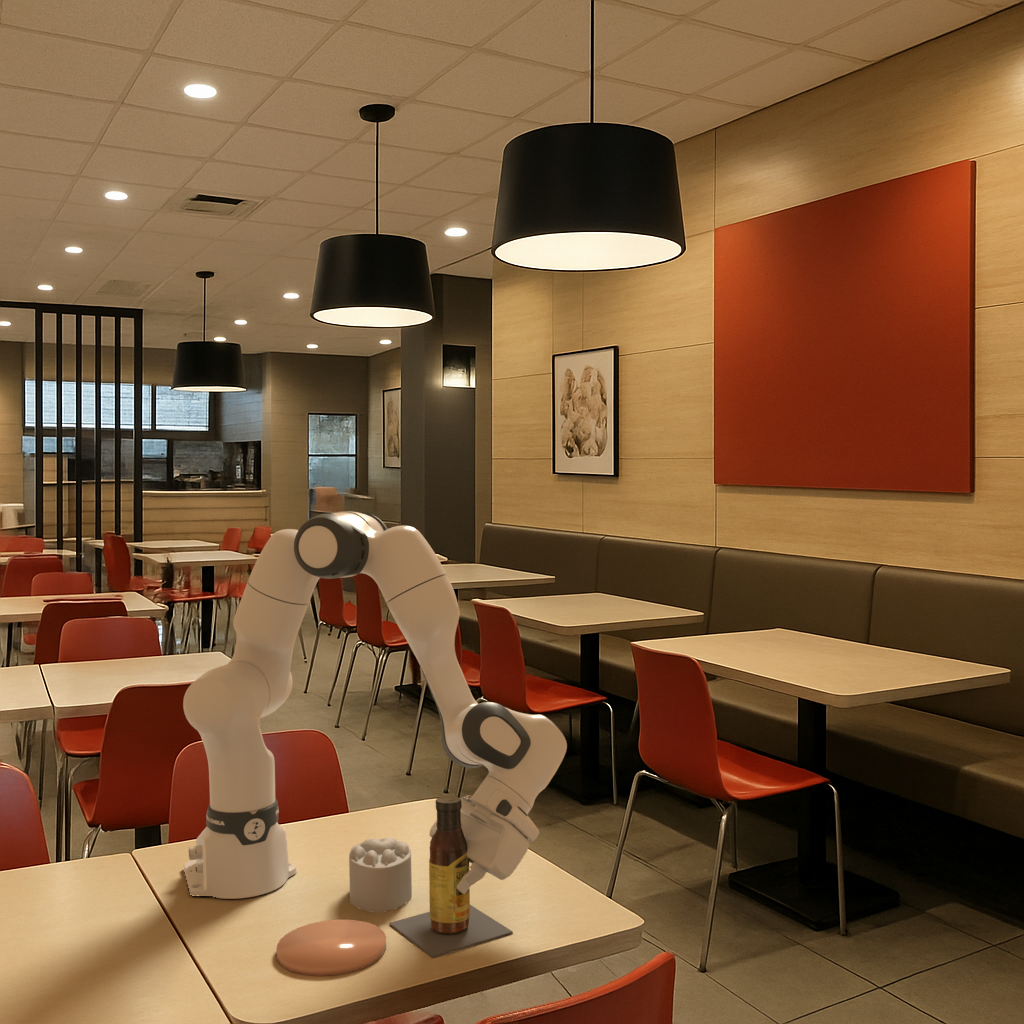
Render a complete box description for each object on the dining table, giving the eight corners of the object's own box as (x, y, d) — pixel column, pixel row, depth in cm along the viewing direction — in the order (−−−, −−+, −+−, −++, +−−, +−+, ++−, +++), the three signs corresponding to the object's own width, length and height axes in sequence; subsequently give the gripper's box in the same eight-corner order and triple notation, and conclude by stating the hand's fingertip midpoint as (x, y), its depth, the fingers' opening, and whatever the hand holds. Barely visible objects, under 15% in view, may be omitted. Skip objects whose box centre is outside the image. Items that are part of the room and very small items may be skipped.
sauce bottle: (464, 937, 152) (462, 807, 152) (424, 934, 153) (422, 805, 153) (474, 919, 158) (472, 794, 158) (436, 917, 160) (434, 792, 159)
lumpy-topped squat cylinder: (410, 880, 176) (409, 831, 176) (413, 910, 163) (412, 857, 163) (350, 884, 175) (349, 834, 175) (348, 914, 162) (347, 861, 162)
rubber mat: (389, 924, 158) (389, 922, 158) (465, 903, 165) (465, 901, 165) (433, 957, 146) (432, 955, 146) (512, 933, 154) (512, 931, 154)
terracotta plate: (261, 944, 151) (260, 936, 151) (358, 918, 160) (358, 911, 160) (301, 986, 138) (301, 978, 138) (405, 955, 147) (404, 947, 147)
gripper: (452, 781, 168) (401, 852, 163) (521, 812, 151) (467, 892, 146) (475, 803, 171) (426, 873, 165) (546, 836, 154) (493, 915, 148)
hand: (445, 882), depth 155 cm, fingers closed on sauce bottle, 6 cm apart
